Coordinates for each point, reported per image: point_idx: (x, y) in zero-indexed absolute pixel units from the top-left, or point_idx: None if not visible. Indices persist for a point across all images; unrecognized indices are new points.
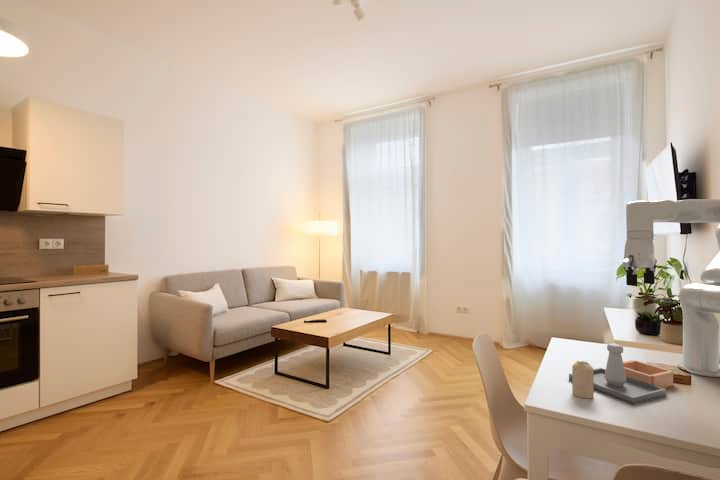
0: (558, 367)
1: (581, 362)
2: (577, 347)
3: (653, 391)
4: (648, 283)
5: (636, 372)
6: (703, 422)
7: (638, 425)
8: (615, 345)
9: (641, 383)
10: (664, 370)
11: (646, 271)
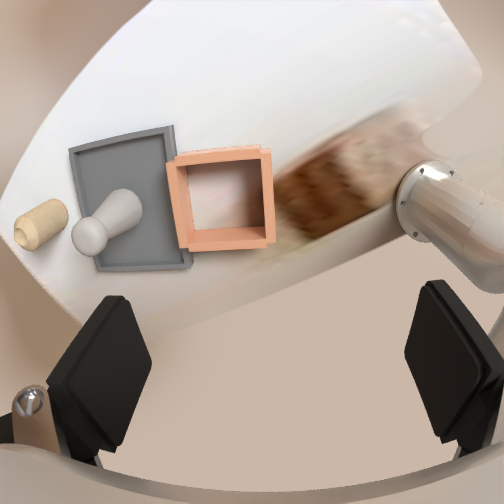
0: (109, 70)
1: (22, 230)
2: None
3: (155, 266)
4: (412, 322)
5: (175, 220)
6: (155, 329)
7: (70, 303)
8: (79, 247)
9: None
10: (265, 228)
11: (481, 409)
